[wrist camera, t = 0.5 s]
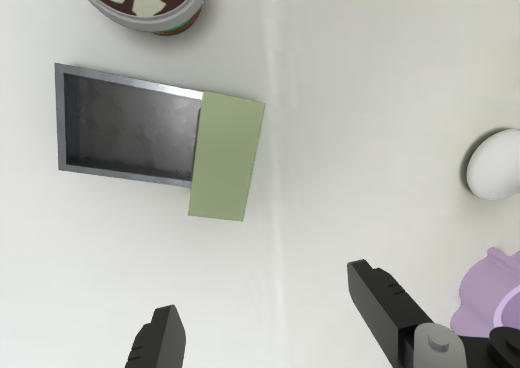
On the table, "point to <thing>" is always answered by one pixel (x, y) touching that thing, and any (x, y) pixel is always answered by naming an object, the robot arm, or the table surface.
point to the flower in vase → (496, 166)
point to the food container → (152, 14)
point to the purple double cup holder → (489, 296)
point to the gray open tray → (125, 126)
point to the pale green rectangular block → (224, 155)
